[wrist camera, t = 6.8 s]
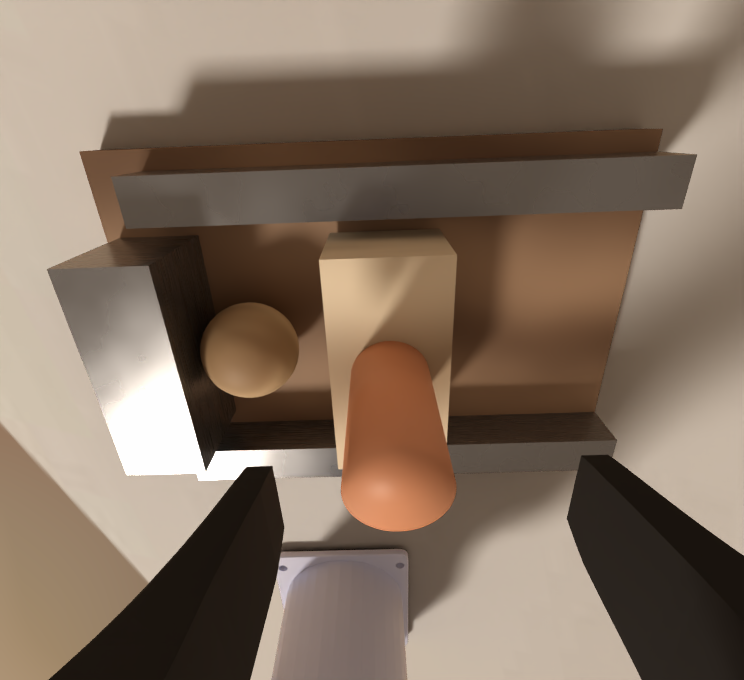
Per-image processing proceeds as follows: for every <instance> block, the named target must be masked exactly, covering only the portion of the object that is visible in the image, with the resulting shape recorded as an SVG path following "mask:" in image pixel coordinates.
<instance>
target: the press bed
mask: <svg viewBox="0 0 744 680" xmlns="http://www.w3.org/2000/svg"><path fill="white" fill-rule="evenodd" d="M662 131H663V129H628V130H603V131H577V132H551V133H526V134H500V135H474V136H448V137H423V138H397V139H371V140H346V141H320V142H294V143H269V144H243V145H217V146H192V147H166V148H140V149H114V150H94V151H81V152H80V155H81V159H82V162H83V165H84V168H85V171H86V175H87V178H88V181H89V184H90V187H91V190H92V194H93V197H94V200H95V203H96V206H97V210H98V213H99V216H100V219H101V222H102V226H103V229H104V232H105V235H106V238H107V242H108V243H107V244H104V245H102V246H100V247H97V248H95V249H93V250H90V251H88V252H86V253H83V254H81V255H79V256H76V257H74V258H72V259H70V260H67V261H65V262H63V263H60V264H58V265H56V266H53V267H51V268H49V269H47V271H48V274H49V276H50V279H51V281H52V284H53V286H54V289H55V292H56V294H57V297H58V299H59V302H60V304H61V307H62V310H63V312H64V315H65V317H66V320H67V323H68V325H69V328H70V330H71V333H72V335H73V338H74V341H75V343H76V346H77V348H78V351H79V353H80V356H81V359H82V361H83V364H84V366H85V369H86V371H87V374H88V377H89V379H90V382H91V384H92V387H93V389H94V392H95V395H96V397H97V400H98V402H99V405H100V407H101V410H102V413H103V415H104V418H105V420H106V423H107V426H108V428H109V431H110V433H111V436H112V438H113V441H114V444H115V446H116V449H117V451H118V454H119V456H120V459H121V462H122V464H123V467H124V469H125V472H126V474H127V475H147V474H184V473H197V475H198V479H199V480H228V479H237V478H238V476H239V475H240V474H241V472H242V471H243V470H244V469H245V468H246V467H253V466H273V471H274V477H275V478H303V477H341V476H342V471H343V469H338V461H337V450H336V439H335V428H334V418H333V407H332V396H331V385H330V374H329V364H328V353H327V342H326V331H325V321H324V310H323V299H322V288H321V277H320V267H319V258H320V256H321V253H322V251H323V248H324V246H325V244H326V241H327V239H328V236H329V234H330V233H337V232H365V231H393V230H421V229H440V231H441V232H442V233H443V235H444V236H445V238H446V239H447V241H448V242H449V244H450V245H451V247H452V248H453V250H454V251H455V253H456V254H457V267H456V285H455V303H454V321H453V339H452V358H451V376H450V394H449V412H448V430H447V447H448V451H449V455H450V459H451V463H452V468H453V472H454V473H490V472H527V471H565V470H578V467H579V463H580V458H581V455H609V456H611V457H612V456H613V452H614V449H615V445H616V442H617V440H616V439H615V437H614V436H613V435H612V433H611V432H610V431H609V430H608V428H607V427H606V426H605V425H604V423H603V422H602V421H601V420H600V418H599V417H598V416H597V414H596V413H595V408H596V403H597V399H598V395H599V391H600V387H601V383H602V379H603V375H604V370H605V366H606V362H607V358H608V354H609V350H610V346H611V341H612V337H613V333H614V329H615V325H616V321H617V317H618V313H619V308H620V304H621V300H622V296H623V292H624V288H625V284H626V279H627V275H628V271H629V267H630V263H631V259H632V255H633V251H634V246H635V242H636V238H637V234H638V230H639V226H640V222H641V217H642V213H643V210H665V209H682V207H683V203H684V200H685V196H686V193H687V189H688V185H689V182H690V178H691V175H692V171H693V168H694V164H695V160H696V157H697V154H684V153H671V152H658V147H659V143H660V139H661V135H662Z"/></svg>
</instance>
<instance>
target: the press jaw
mask: <svg viewBox="0 0 744 680" xmlns="http://www.w3.org/2000/svg"><path fill="white" fill-rule="evenodd" d="M319 267H320V277H321V288H322V299H323V310H324V321H325V331H326V342H327V353H328V364H329V374H330V385H331V396H332V407H333V418H334V428H335V439H336V450H337V461H338V469H343V471H342V482H341V495H342V500H343V502H344V505H345V506H346V508H347V510H348V511H349V512H350V513H351V514H352V515H353V516H354V517H355V518H356V519H358V520H359V521H360V522H362V523H364V524H366V525H368V526H370V527H373V528H376V529H380V530H385V531H409V530H414V529H418V528H421V527H424V526H427V525H429V524H431V523H433V522H434V521H436V520H438V519H439V518H440V517H442V516H443V515H444V514H445V513H446V512H447V511H448V509H449V508H450V507H451V505H452V503H453V501H454V498H455V495H456V480H455V476H454V472H453V468H452V463H451V459H450V455H449V451H448V447H447V430H448V412H449V394H450V376H451V358H452V339H453V321H454V303H455V285H456V267H457V254H456V253H455V251H454V250H453V248H452V247H451V245H450V244H449V242H448V241H447V239H446V238H445V236H444V235H443V233H442V232H441V231H440V229H421V230H393V231H365V232H337V233H330V234H329V236H328V239H327V241H326V244H325V246H324V248H323V251H322V253H321V256H320V258H319Z"/></svg>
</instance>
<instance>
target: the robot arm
mask: <svg viewBox="0 0 744 680" xmlns="http://www.w3.org/2000/svg"><path fill="white" fill-rule="evenodd" d="M567 520H568V523H569V526H570V529H571V531H572V534H573V537H574V540H575V543H576V545H577V548H578V551H579V553H580V556H581V558H582V561H583V564H584V566H585V568H586V570H587V572H588V574H589V576H590V578H591V580H592V582H593V584H594V586H595V588H596V590H597V592H598V594H599V596H600V598H601V600H602V602H603V604H604V606H605V608H606V610H607V612H608V614H609V616H610V618H611V620H612V622H613V624H614V626H615V628H616V629H617V631H618V633H619V635H620V637H621V639H622V641H623V643H624V645H625V647H626V649H627V651H628V653H629V655H630V657H631V659H632V661H633V663H634V665H635V667H636V669H637V671H638V673H639V675H640V677H641V679H642V680H744V556H743V555H742V554H740V553H739V552H738V551H736V550H735V549H733V548H732V547H730V546H729V545H728V544H726V543H725V542H723V541H722V540H721V539H719V538H718V537H716V536H715V535H714V534H712V533H711V532H710V531H708V530H707V529H705V528H704V527H703V526H701V525H700V524H699V523H697V522H696V521H695V520H693V519H692V518H691V517H689V516H688V515H687V514H685V513H684V512H683V511H681V510H680V509H679V508H677V507H676V506H675V505H673V504H672V503H671V502H669V501H668V500H667V499H666V498H664V497H663V496H662V495H660V494H659V493H658V492H657V491H655V490H654V489H653V488H651V487H650V486H649V485H647V484H646V483H645V482H644V481H642V480H641V479H640V478H638V477H637V476H636V475H634V474H633V473H632V472H631V471H629V470H628V469H627V468H625V467H624V466H623V465H621V464H620V463H619V462H617V461H616V460H615V459H613V458H612V457H611V456H609V455H581V458H580V463H579V467H578V472H577V476H576V480H575V485H574V489H573V494H572V498H571V502H570V507H569V511H568V516H567ZM283 533H284V523H283V518H282V513H281V508H280V502H279V497H278V492H277V487H276V482H275V477H274V471H273V466H253V467H246V468H245V469H244V470H243V471H242V472H241V474H240V475H239V476H238V478H237V479H236V480H235V481H234V483H233V484H232V485H231V487H230V488H229V489H228V491H227V492H226V493H225V494H224V496H223V497H222V498H221V500H220V501H219V502H218V503H217V505H216V506H215V507H214V508H213V510H212V511H211V512H210V513H209V515H208V516H207V517H206V518H205V519H204V521H203V522H202V523H201V524H200V526H199V527H198V528H197V529H196V530H195V532H194V533H193V534H192V535H191V536H190V538H189V539H188V540H187V541H186V542H185V544H184V545H183V546H182V547H181V548H180V549H179V550H178V552H177V553H176V554H175V555H174V556H173V557H172V558H171V559H170V561H169V562H168V563H167V564H166V565H165V566H164V567H163V568H162V569H161V570H160V572H159V573H158V574H157V575H156V576H155V577H154V578H153V579H152V580H151V582H150V583H149V584H148V585H147V586H146V587H145V588H144V589H143V590H142V591H141V592H140V593H139V594H138V595H137V596H136V597H135V599H133V601H132V602H131V603H130V604H129V605H128V606H127V607H126V608H125V609H124V610H123V611H122V612H121V613H120V614H119V615H118V616H117V617H116V618H115V619H114V620H113V621H112V622H111V623H109V624H108V626H106V627H105V628H104V629H103V630H102V631H101V632H100V633H99V634H98V635H97V636H96V637H95V638H94V639H93V640H92V641H91V642H90V643H89V644H87V645H86V647H84V648H83V649H82V650H81V651H80V652H79V653H78V654H77V655H75V657H73V658H72V659H71V660H70V661H69V662H68V663H67V664H66V665H65V666H63V667H62V668H61V669H60V670H59V671H58V672H57V673H56V674H54V675H53V676H52V677H51V678H50V679H49V680H250V678H251V675H252V671H253V667H254V663H255V659H256V655H257V651H258V647H259V644H260V640H261V636H262V632H263V628H264V624H265V620H266V617H267V613H268V609H269V605H270V601H271V597H272V593H273V589H274V585H275V581H276V577H277V580H278V585H279V590H280V595H281V599H282V604H283V609H284V613H283V619H282V624H281V630H280V635H279V641H278V646H277V652H276V657H275V663H274V668H273V674H272V679H271V680H407V668H406V652H405V646H406V645H407V644H408V553H407V552H406V551H405V550H403V549H375V550H334V551H292V552H281V547H282V540H283Z"/></svg>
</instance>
